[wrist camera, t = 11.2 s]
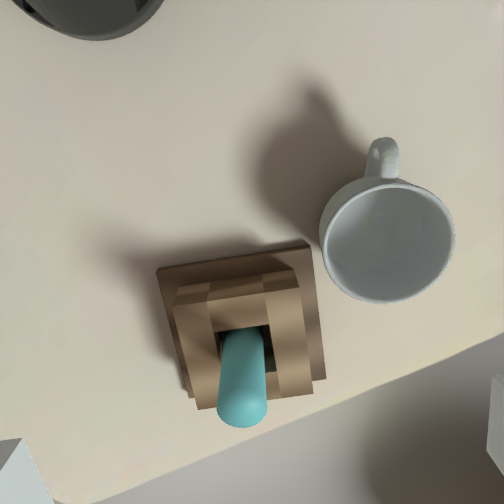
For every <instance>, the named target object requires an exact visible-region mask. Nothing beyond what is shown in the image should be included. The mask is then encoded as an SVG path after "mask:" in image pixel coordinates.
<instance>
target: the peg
mask: <svg viewBox="0 0 504 504" xmlns="http://www.w3.org/2000/svg"><path fill="white" fill-rule="evenodd" d="M266 412H267V399H266V381H265V364H264V347H263V330H262V325H259V326H253V327H246V328H239V329H232V330H226V331H225V334H224V343H223V352H222V362H221V371H220V380H219V390H218V399H217V413H218V415H219V417H220V418H221V419H222V420H223V421H224V422H225V423H226V424H228V425H230V426H233V427H238V428H246V427H250V426H253V425H256V424H257V423H259V422H260V421H261V420H262V419H263V418H264V416H265V415H266Z"/></svg>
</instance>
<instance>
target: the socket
mask: <svg viewBox="0 0 504 504" xmlns="http://www.w3.org/2000/svg"><path fill="white" fill-rule="evenodd" d="M156 274H157V278H158V282H159V286H160V289H161V293H162V297H163V301H164V305H165V309H166V312H167V316H168V320H169V324H170V328H171V332H172V335H173V339H174V343H175V347H176V351H177V354H178V358H179V362H180V366H181V370H182V374H183V377H184V381H185V385H186V389H187V393H188V397H189V398H195V401H196V404H197V408H198V410H201V409H208V408H215V407H217V399H218V390H219V380H220V371H221V362H222V352H223V343H224V334H225V331H226V330H232V329H239V328H246V327H253V326H259V325H262V330H263V347H264V364H265V381H266V399H267V400H272V399H279V398H286V397H293V396H300V395H308V394H314V393H313V386H312V381H316V380H323V379H326V371H325V362H324V354H323V345H322V337H321V328H320V319H319V311H318V302H317V294H316V285H315V277H314V268H313V259H312V251H311V247H310V245H306V246H300V247H293V248H287V249H280V250H274V251H267V252H261V253H255V254H248V255H242V256H235V257H229V258H222V259H216V260H210V261H203V262H197V263H190V264H184V265H178V266H171V267H165V268H158V270H157V271H156Z"/></svg>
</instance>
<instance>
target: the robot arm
mask: <svg viewBox="0 0 504 504" xmlns="http://www.w3.org/2000/svg"><path fill="white" fill-rule="evenodd" d="M12 1H13V2H14V3H15V4H16V5H17V6H18V7H19V8H20V9H22V10H23V11H24V12H25V13H26V14H28V15H29V16H30V17H32V18H33V19H35V20H36V21H38V22H39V23H41V24H43V25H45V26H47V27H49V28H51V29H53V30H56V31H58V32H60V33H62V34H65V35H67V36H70V37H74V38H77V39H82V40H90V41H102V40H110V39H115V38H118V37H121V36H124V35H126V34H129V33H131V32H133V31H134V30H136V29H137V28H139V27H140V26H142V25H143V24H144V23H146V22H147V21H148V20H149V19H150V18H151V17H152V16H153V15H154V14H155V12H156V11H157V10H158V8H159V7H160V6H161V4H162V3H163V1H164V0H12ZM487 452H488V453H489V455H490V456H491V458H492V459H493V461H494V462H495V464H496V465H497V467H498V468H499V469H500V471H501V472H502V474H503V475H504V373H501V374H493V375H492V387H491V399H490V412H489V425H488V438H487ZM0 504H54V502H53V499H52V497H51V495H50V493H49V491H48V489H47V487H46V485H45V483H44V481H43V479H42V477H41V475H40V473H39V471H38V469H37V467H36V465H35V462H34V460H33V458H32V456H31V454H30V452H29V450H28V448H27V446H26V444H25V442H24V440H23V438H18V439H11V440H3V441H0Z"/></svg>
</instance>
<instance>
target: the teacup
mask: <svg viewBox="0 0 504 504" xmlns="http://www.w3.org/2000/svg"><path fill="white" fill-rule="evenodd" d="M399 165H400V155H399V148H398V146H397V143H396V142H395V141H394V140H393V139H392V138H389V137H383V138H378V139H376V140H374V141H373V142H372V144H371V146H370V149H369V153H368V158H367V164H366V170H365V172H364V177H363V178H360V179H357V180H354V181H352V182H350V183H348V184H347V185H345V186H343V187H342V188H341V189H340V190H338V191H337V192H336V193H335V194H334V195H333V196H332V197H331V199H330V200H329V202H328V203H327V205H326V207H325V208H324V211H323V213H322V216H321V219H320V225H319V241H320V246H321V250H322V256H323V261H324V264H325V268H326V270H327V272H328V274H329V276H330V278H331V279H332V281H333V282H334V283H335V284H336V285H337V286H338V287H339V288H340V289H341V290H342V291H343V292H345V293H346V294H347V295H349V296H351V297H353V298H356V299H358V300H361V301H365V302H368V303H375V304H390V303H397V302H402V301H405V300H408V299H410V298H413V297H415V296H417V295H419V294H421V293H422V292H424V291H425V290H427V289H428V288H429V287H431V285H433V284H434V283H435V282H436V281H437V280H438V279H439V278H440V276H441V275H442V274H443V272H444V271H445V269H446V268H447V266H448V264H449V262H450V260H451V258H452V255H453V251H454V247H455V236H456V235H455V233H454V232H455V229H454V223H453V219H452V217H451V215H450V212H449V210H448V209H447V208H446V206H445V205H444V204H443V203H442V201H441V200H440V199H439V198H438V197H436V196H435V195H434V194H432V193H431V192H430V191H428V190H426V189H424V188H421V187H419V186H415V185H413V184H411V183H409V182H406V181H404V180H402V179H398V178H397V175H398V171H399Z"/></svg>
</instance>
